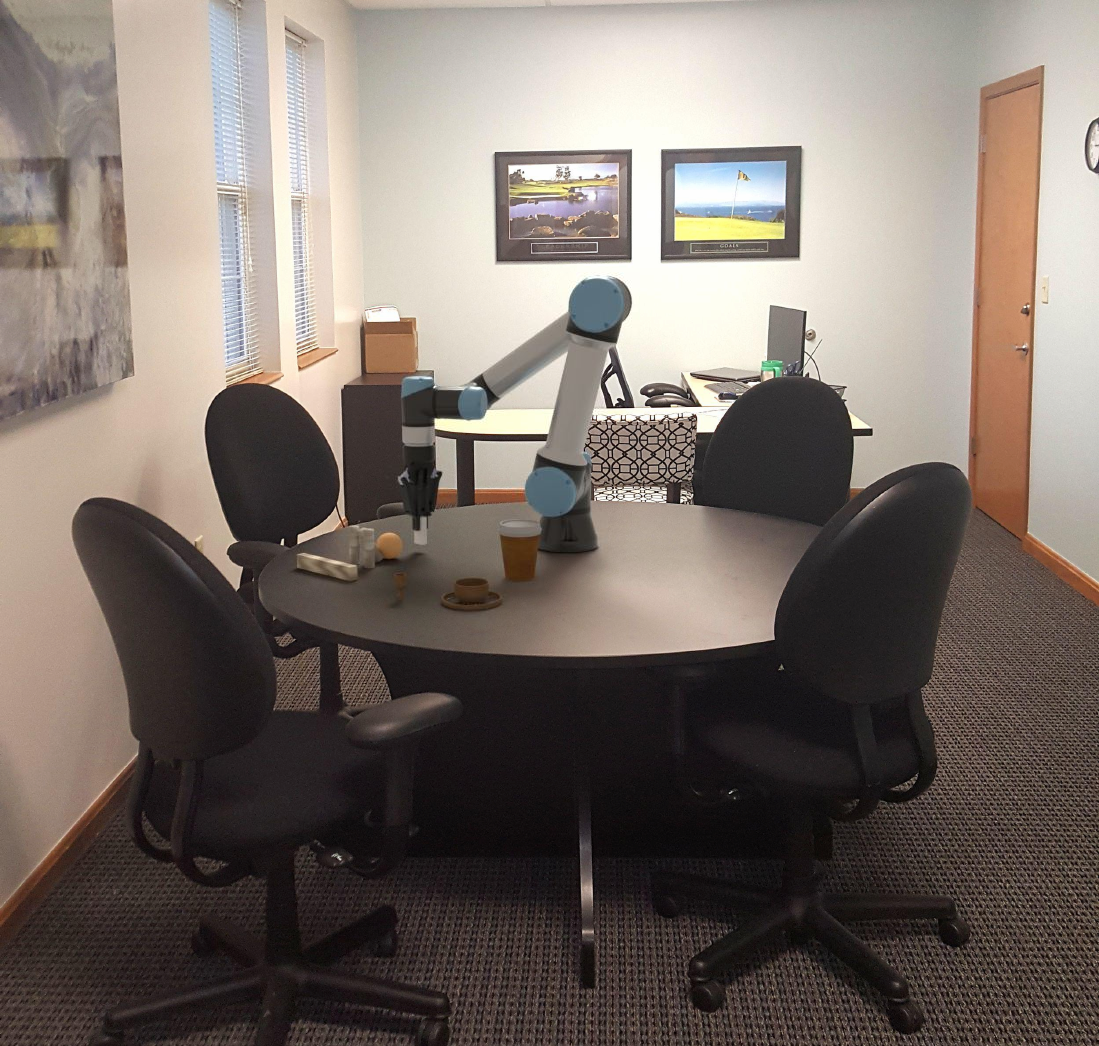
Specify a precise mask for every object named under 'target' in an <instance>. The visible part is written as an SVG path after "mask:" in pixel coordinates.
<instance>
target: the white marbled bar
mask: <svg viewBox="0 0 1099 1046" xmlns="http://www.w3.org/2000/svg"><path fill="white" fill-rule="evenodd" d="M296 565H297V566H296V568H298V569H302V570H306V571H309V572H312V573H317V574H321V575H325V576H328V575H329V577H332V578H336V579H340V580H344V581H347V582H348V581H349V582H352V581H356V580H358V565H352V564H349V563H347V562H344V561H340V560H334V559H331V558H326V557H322V556H318V555H314V554H310V553H306V552H303V553H298V554H296Z"/></svg>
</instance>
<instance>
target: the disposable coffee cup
mask: <svg viewBox="0 0 1099 1046" xmlns="http://www.w3.org/2000/svg"><path fill="white" fill-rule="evenodd" d="M539 522H540V521H537V520H533V519H524V518H522V519H521V518H519V519H518V518H515V519H513V518H511V519H505V520H501V521H500V522H499V523H498V524H499V525H498V528H497V531H498V534H499V539H500V546H501V554H502V561H503V569H504V577H505V579H506V580H507V581H508V580H509V581H513V582H526V581H531V580H534V579H535V577H536V576H535V575H536V567H537V560H538V559H537V558H538V552H539V549H538V545H539V537H540V534H541V531H542V528H541V526H540V523H539Z"/></svg>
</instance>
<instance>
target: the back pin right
mask: <svg viewBox="0 0 1099 1046" xmlns="http://www.w3.org/2000/svg"><path fill="white" fill-rule="evenodd" d="M359 529H360V526H359V525H356V524H355V525H349V526H347V530H348V532H347V533H348V534H347V535H348V561H349V563H348V564H352V565H356V566H358V565H360V564H361V552H360V550H361V547H360V546H361V544H360V543H361V542H360V541H361V540H360V538H359V537H358V535H357V531H358V530H359Z"/></svg>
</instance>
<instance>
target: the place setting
mask: <svg viewBox="0 0 1099 1046" xmlns="http://www.w3.org/2000/svg"><path fill="white" fill-rule="evenodd" d="M393 585H394V587H395V588H396V589H397V591H398V593H397V597H398V599H397V600H398V601H403V597H404V593H403V589H404V588H405V587H406V585H407V573H403V572H399V573H398V572H397V573H394V574H393ZM488 596H490V597H488ZM451 597H454V598H456V599H457V600H458V601H460V602H461V603H454V602H450V601H448V600H449V599H448V598H451ZM491 597H493V598H492V599H494V598H495V601H492V602H487V603H481V602H483V601H484V600H486V599H487V598H491ZM447 599H448V600H447ZM451 599H452V598H451ZM502 599H503V598H502V595H501V594H500V593H499V592H495V591H492V590H490V582H489V580H488V579H486V578H483V577H482V578H480V577H464V578H459V579H456V580H454V582H453V591H450V592H446V593H444V594H443V595H442V596H441V602H442V605H444V607H446V606H447V608H448V609H453V608H454V609H453V610H459V609H461V610H460V611H480V610H479V609H482V610H487V609H486V608H488V609H491V608H495V607H498V606H499V605H500V604H501V602H502ZM446 600H447V601H446ZM465 604H467V605H465ZM475 604H477V605H475ZM419 608H422V606H419Z"/></svg>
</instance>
